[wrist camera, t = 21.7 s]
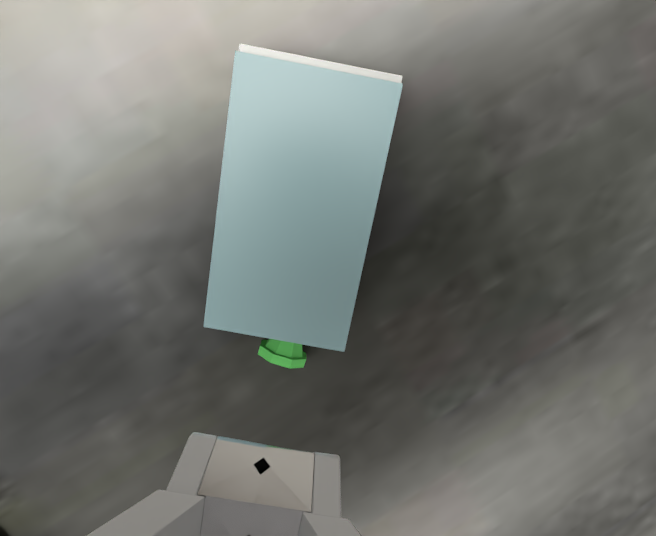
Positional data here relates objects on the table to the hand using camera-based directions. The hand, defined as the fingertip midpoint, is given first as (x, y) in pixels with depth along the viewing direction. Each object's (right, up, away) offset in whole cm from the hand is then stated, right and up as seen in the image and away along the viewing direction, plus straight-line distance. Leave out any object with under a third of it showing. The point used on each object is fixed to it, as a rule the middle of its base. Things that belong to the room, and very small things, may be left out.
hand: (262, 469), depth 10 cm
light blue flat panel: (-1, +8, +23) cm, 24 cm away
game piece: (-3, -4, +32) cm, 32 cm away
